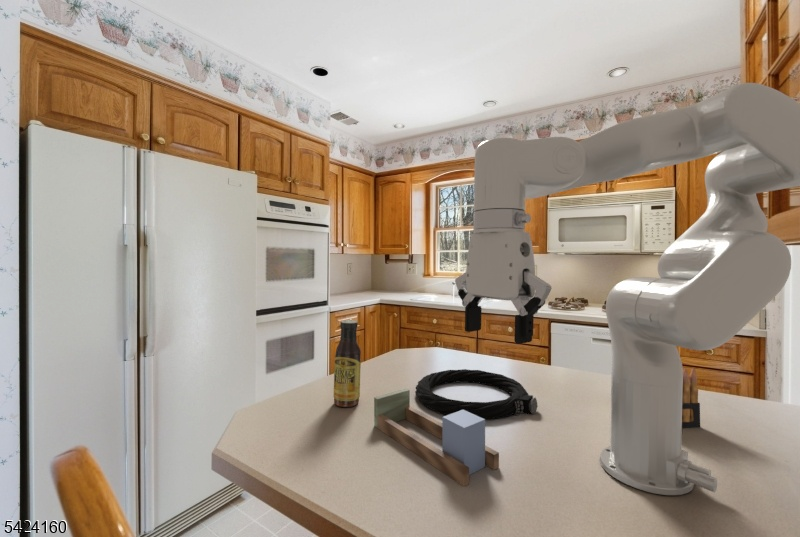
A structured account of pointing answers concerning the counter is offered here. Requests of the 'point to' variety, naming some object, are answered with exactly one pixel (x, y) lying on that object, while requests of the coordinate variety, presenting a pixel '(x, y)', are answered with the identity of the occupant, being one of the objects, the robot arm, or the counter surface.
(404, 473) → the counter surface
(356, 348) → the sauce bottle
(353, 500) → the counter surface
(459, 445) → the block
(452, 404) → the cable lock
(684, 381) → the ammunition clip
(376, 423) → the track
